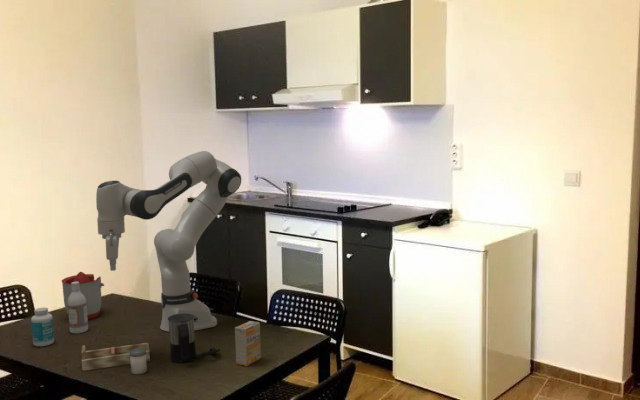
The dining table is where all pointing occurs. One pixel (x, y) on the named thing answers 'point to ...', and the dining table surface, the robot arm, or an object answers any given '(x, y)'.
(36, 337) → the pill bottle
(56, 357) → the dining table surface
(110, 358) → the wooden tray
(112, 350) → the block
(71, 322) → the bath foam
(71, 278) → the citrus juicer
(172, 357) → the milk frother
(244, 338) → the supplement box
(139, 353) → the cream jar
